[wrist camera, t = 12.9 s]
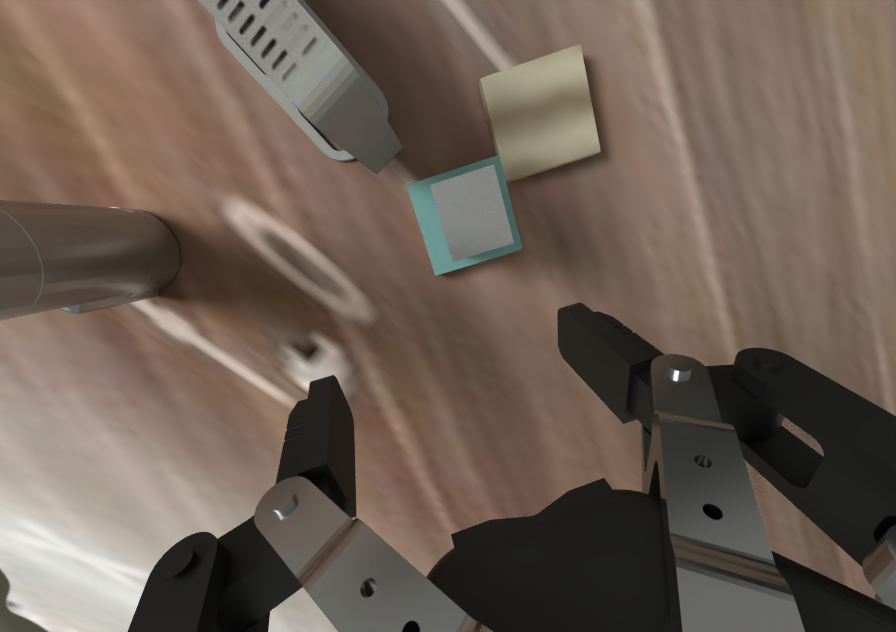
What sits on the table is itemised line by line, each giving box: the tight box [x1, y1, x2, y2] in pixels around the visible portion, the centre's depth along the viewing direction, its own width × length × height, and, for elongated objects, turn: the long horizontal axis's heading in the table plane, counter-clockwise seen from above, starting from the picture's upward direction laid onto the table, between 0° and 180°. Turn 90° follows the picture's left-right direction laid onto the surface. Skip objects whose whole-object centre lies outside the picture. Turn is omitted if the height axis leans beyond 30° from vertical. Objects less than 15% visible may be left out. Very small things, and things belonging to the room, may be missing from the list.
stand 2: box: [479, 44, 601, 183], centre depth 36 cm, size 10×10×2 cm
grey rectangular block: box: [430, 164, 514, 262], centre depth 32 cm, size 6×5×11 cm
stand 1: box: [407, 155, 523, 276], centre depth 39 cm, size 10×10×2 cm
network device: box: [198, 0, 403, 174], centre depth 27 cm, size 26×9×20 cm, turn 43°
